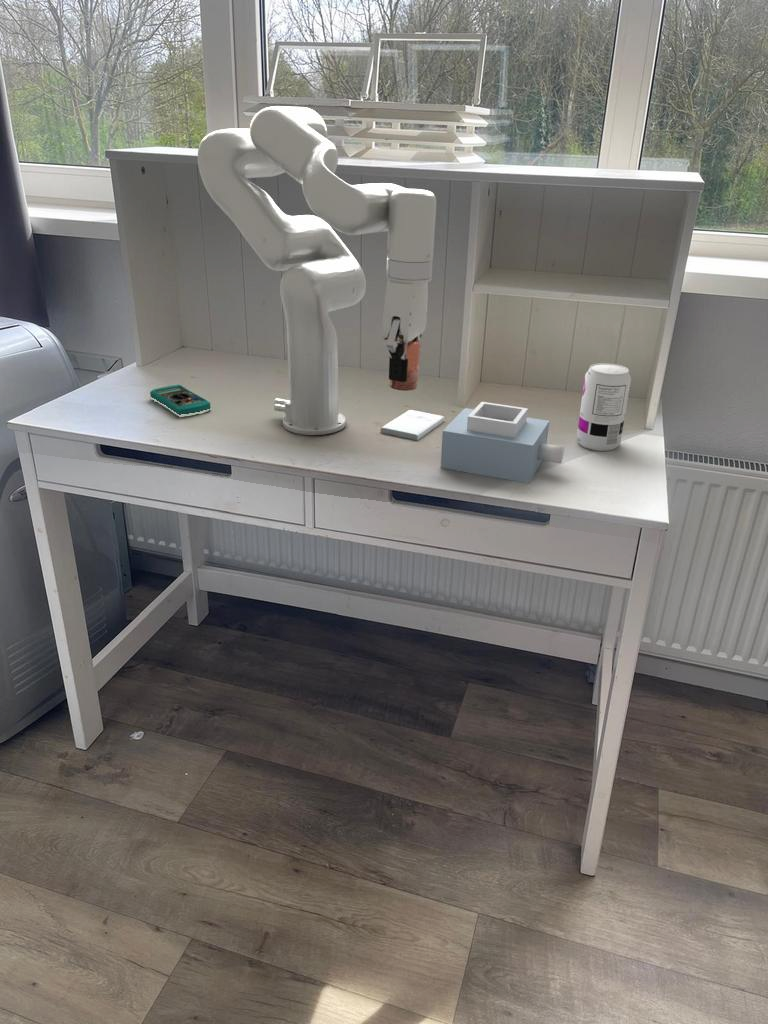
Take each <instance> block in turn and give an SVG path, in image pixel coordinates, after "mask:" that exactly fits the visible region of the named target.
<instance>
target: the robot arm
mask: <svg viewBox="0 0 768 1024" xmlns="http://www.w3.org/2000/svg"><path fill="white" fill-rule="evenodd" d="M251 119H252V120H251V122H250V124H249V125H250V126H249V128H224V129H219V130H214V131H212V132H210V133H208V134H207V135H205V136H204V137H203V139H201V141H200V143H199V147H198V150H197V165H198V166H197V167H198V171H199V175H200V178H201V180H202V183H203V185H204V188H205V190H206V191H207V193H208V195H209V196H210V198H211V199H212V200H213V201H214V203H215V204H216V205H217V206H218V208H219V209H220V210H222V212H224V214H225V215H226V216H227V217H228V218H229V219H230V220H231V221H232V223H233V225H235V227H236V228H237V229H238V230H239V232H240V234H241V235H242V236H243V237H244V239H245V241H246V242H247V243H248V244H249V245H250V247H251V248H252V250H253V251H254V252H255V254H256V255H257V256H258V258H259V259H260V260H261V262H262V263H263V264H264V265H265V267H267V268H269V269H270V270H272V271H277V272H280V271H281V272H283V271H285V272H284V273H283V275H282V277H281V279H280V282H279V283H280V284H279V292H280V293H279V294H280V298H281V305H282V308H283V312H284V317H285V325H286V334H287V335H286V336H287V337H286V338H287V358H288V359H287V360H288V384H289V385H288V386H289V400H288V399H285V398H280V397H279V398H278V397H276V398H275V399H274V407H273V408H274V409H273V410H274V411H275V412H284V414H285V416H284V417H283V419H282V425H283V427H284V429H285V430H287V431H288V432H291V433H294V434H299V435H304V436H323V435H329V434H334V433H337V432H340V431H342V429H344V428H345V427H346V424H347V418H346V416H345V415H343V414H342V413H340V412H339V374H338V373H339V369H338V368H339V367H338V366H339V364H338V362H339V361H338V359H339V358H338V357H339V355H338V353H339V351H338V350H339V349H338V336H337V335H338V334H337V331H336V328H335V326H334V324H333V322H332V320H331V318H330V315H329V314H330V313H331V312H332V311H337V310H341V309H345V308H349V307H352V306H355V305H356V304H358V303H360V301H361V300H362V299H363V298H364V296H365V293H366V289H367V280H366V276H365V272H364V271H363V268H362V267H361V265H360V263H359V262H358V260H357V258H356V257H355V256H354V255H353V254H352V252H351V251H350V249H349V248H348V247H347V246H346V244H345V243H344V242H343V241H342V239H341V238H340V236H338V234H337V233H336V232H335V230H336V231H338V232H340V233H342V234H345V235H348V236H360V235H366V234H372V233H382V232H387V251H386V254H387V255H386V274H385V275H386V280H387V283H386V286H385V287H386V289H385V294H384V302H383V311H382V322H381V324H382V325H381V338H382V340H384V341H386V347H387V349H388V351H389V353H388V358H389V359H388V360H389V361H388V363H389V365H388V379H389V381H390V380H393V381H399V382H406V381H407V370H408V359H406V355H407V348H408V342H409V341H411V340H413V339H417V340H419V341H420V348H421V344H422V343H421V338H422V336H423V333H424V332H425V330H426V327H427V321H428V304H429V303H428V301H429V300H428V299H429V294H428V293H429V292H428V291H429V290H428V289H429V284H428V283H430V282H432V275H433V261H434V260H433V258H434V249H435V248H434V246H435V232H436V231H435V230H436V229H435V228H436V215H437V214H436V213H437V197H436V196H435V195H436V194H434V193H433V192H432V191H430V190H427V189H421V188H406V187H404V186H401V185H398V184H395V183H389V182H387V183H386V182H379V183H362V184H349V183H347V182H345V180H343V179H341V178H339V176H337V175H336V174H335V173H336V170H337V167H338V162H339V155H338V149H337V148H336V146H335V144H334V143H333V142H332V141H330V140H329V139H328V129H327V125H326V123H325V121H324V119H323V118H322V116H321V115H320V114H319V113H318V112H316V111H315V110H314V109H311V108H309V107H305V106H283V105H281V106H280V105H275V106H269V107H268V106H267V107H265V108H262V109H261V110H259V111H258V112H256V114H255V115H254V116H253V117H252V118H251ZM284 173H286V174H287V175H289V176H290V178H292V179H294V180H295V181H296V182H297V183H299V184H300V185H301V189H302V194H303V196H304V199H305V201H306V203H307V205H308V207H309V208H310V210H311V211H312V212H313V213H314V214H315V215H313V214H312V215H311V214H303V215H289V214H286V213H285V212H283V211H282V209H280V207H279V206H278V205H277V204H276V202H275V201H274V200H273V198H272V197H271V196H270V195H269V194H268V193H267V192H266V191H265V190H263V188H261V187H259V186H258V185H256V184H255V183H253V182H252V181H250V180H249V179H252V178H270V177H275V176H279V175H281V174H284ZM329 312H330V313H329ZM399 337H404V339H403V340H404V341H401V340H398V338H399ZM398 344H403V347H402V350H401V348H400V346H398ZM419 357H420V354H419ZM419 370H420V369H419ZM419 370H418V372H419Z"/></svg>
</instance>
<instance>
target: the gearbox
mask: <svg viewBox="0 0 768 1024" xmlns="http://www.w3.org/2000/svg"><path fill="white" fill-rule="evenodd" d="M528 411H529V408H526V407H521V406H514V405H513V406H512V405H508V404H500V403H493V402H487V401H481V402H480V403H479V404H478V405H477V406H476V407H475V408H473V409H472V408H466V407H465V408H463V409H462V410H461V411H460V412H459V413H458V415H456V416H455V417H454V419H452V421H451V422H450V423H449V424H448V425H447V426H446V427H445V428H444V429H443V430H442V435H441V453H440V454H441V455H440V468H442V469H448V470H452V471H458V472H463V473H470V474H474V475H481V476H485V477H491V478H496V479H504V480H508V481H515V482H519V483H525V484H530V482H531V481H532V479H533V478H534V477H535V474H536V472H537V470H539V467H540V466H541V464H542V463H543V461H544V462H549V463H555V464H556V463H557V464H561V463H562V462H563V458H564V454H565V446H564V445H557V444H549V443H548V435H549V428H550V427H549V426H550V420H546V419H539V418H533V417H528V413H529V412H528Z"/></svg>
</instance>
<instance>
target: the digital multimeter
mask: <svg viewBox="0 0 768 1024" xmlns="http://www.w3.org/2000/svg"><path fill="white" fill-rule="evenodd" d="M149 393H150V398H151V397H152V398H154V399H156V400H157V401H159V402H160V403H162V404H164V405H166V406H167V407H168V408H170V409H171V410H173V411H174V412H176V413H177V414H179V415H181V414H189V413H195V412H200V411H203V410H207V409H210V408H211V402H210V401H209V400H207V399H205V398H204V397H202V396H200V395H198V394H197V393H194V392H192V391H190V390H189V389H188V388H186V387H184V386H183V385H181V384H174V385H167V386H163V387H158V388H153V389H152V390H150V392H149Z"/></svg>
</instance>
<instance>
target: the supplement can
mask: <svg viewBox="0 0 768 1024" xmlns="http://www.w3.org/2000/svg"><path fill="white" fill-rule="evenodd" d="M631 381H632V377H631V374H630V370H629V368H628V367H626V366H623V365H620V364H617V363H616V364H615V363H607V362H600V363H599V362H598V363H593V364H591V365H590V366H589V369H588V370H587V371H586V373H585V375H584V381H583V389H582V395H581V404H580V410H579V416H578V424H577V431H576V441H577V442H578V443H579V445H580V446H581V447H582V448H586V449H588V450H591V451H596V452H597V451H598V452H610V451H612V450H615V449H616V448H618V447H619V446H620V445H621V441H622V438H623V436H622V435H623V430H624V423H625V417H626V411H627V405H628V400H629V394H630V387H631Z"/></svg>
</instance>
